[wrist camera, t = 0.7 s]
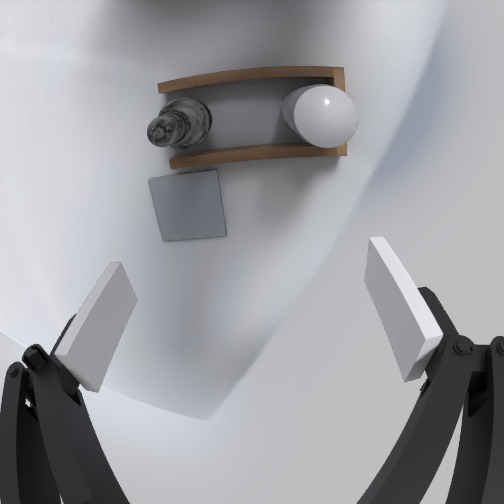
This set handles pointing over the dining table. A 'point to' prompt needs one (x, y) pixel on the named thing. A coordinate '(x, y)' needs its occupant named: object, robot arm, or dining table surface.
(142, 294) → the dining table surface
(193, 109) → the grey chess piece
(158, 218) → the coaster
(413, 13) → the dining table surface
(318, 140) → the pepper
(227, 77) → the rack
